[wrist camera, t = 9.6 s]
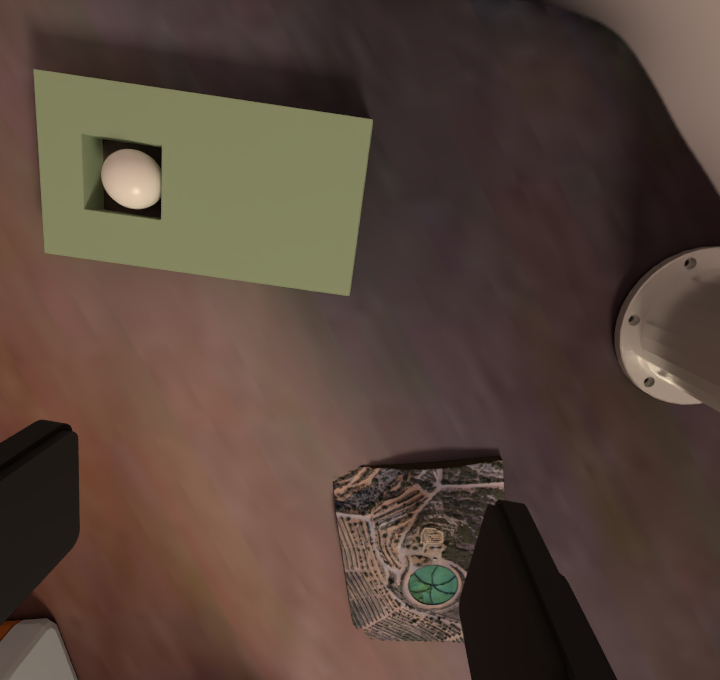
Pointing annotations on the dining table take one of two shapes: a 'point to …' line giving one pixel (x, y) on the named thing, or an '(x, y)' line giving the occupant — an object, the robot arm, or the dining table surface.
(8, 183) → the dining table surface
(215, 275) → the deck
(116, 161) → the ball
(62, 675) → the orange and grey box
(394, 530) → the terrain model
